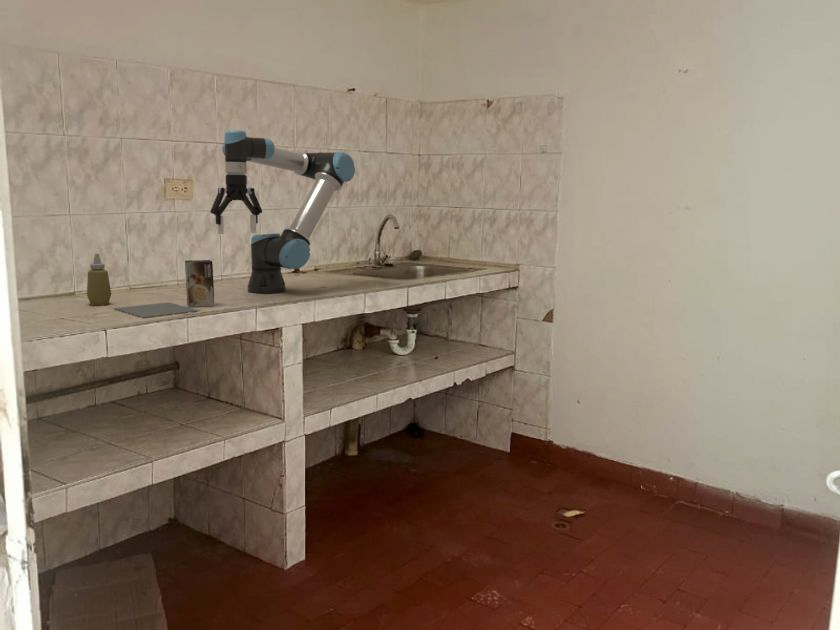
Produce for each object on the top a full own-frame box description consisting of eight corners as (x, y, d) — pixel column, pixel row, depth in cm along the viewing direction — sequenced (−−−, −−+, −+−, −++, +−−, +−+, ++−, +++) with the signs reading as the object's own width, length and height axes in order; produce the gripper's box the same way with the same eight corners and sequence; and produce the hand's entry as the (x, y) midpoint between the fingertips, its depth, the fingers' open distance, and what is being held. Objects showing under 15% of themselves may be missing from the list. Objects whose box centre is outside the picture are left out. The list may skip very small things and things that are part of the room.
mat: (168, 303, 269) (168, 302, 269) (199, 311, 254) (199, 310, 254) (113, 309, 255) (113, 308, 255) (143, 318, 240) (143, 317, 240)
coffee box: (212, 303, 271) (211, 259, 268) (214, 306, 265) (213, 261, 262) (186, 304, 267) (184, 260, 264) (188, 307, 262) (186, 262, 259)
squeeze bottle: (90, 307, 259) (87, 255, 256) (84, 303, 265) (81, 253, 262) (114, 305, 264) (111, 254, 260) (108, 301, 270) (105, 252, 267)
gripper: (210, 173, 258) (212, 234, 261) (271, 175, 275) (271, 232, 279) (199, 173, 263) (201, 233, 267) (259, 175, 280) (260, 231, 284)
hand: (237, 233), depth 273 cm, fingers open, 13 cm apart
